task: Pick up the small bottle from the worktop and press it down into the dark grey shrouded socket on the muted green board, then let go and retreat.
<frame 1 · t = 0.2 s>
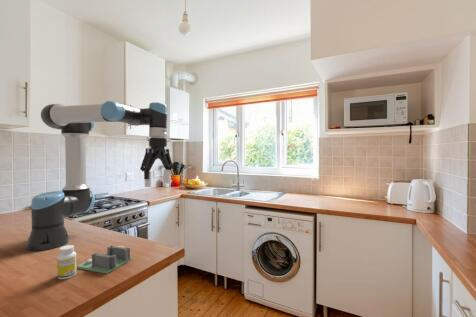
hand: (157, 185, 108), 28 cm above the worktop, fingers open, 13 cm apart
board: (105, 263, 91), on the worktop
supplement bottle: (67, 276, 82), on the worktop
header: (111, 264, 90), resting on board
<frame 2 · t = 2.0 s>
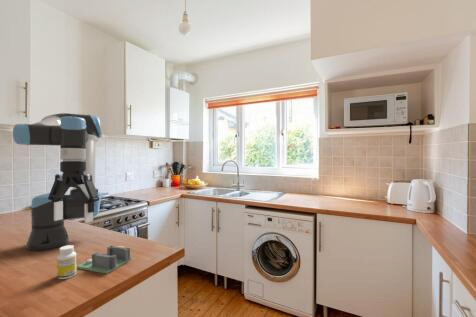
hand: (73, 221, 85), 18 cm above the worktop, fingers open, 13 cm apart
nothing on the worktop moved.
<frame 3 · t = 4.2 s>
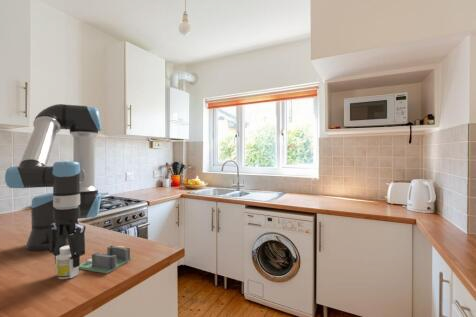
hand: (67, 274, 82), 0 cm above the worktop, fingers closed on supplement bottle, 5 cm apart
supplement bottle: (67, 276, 82), on the worktop, touching gripper
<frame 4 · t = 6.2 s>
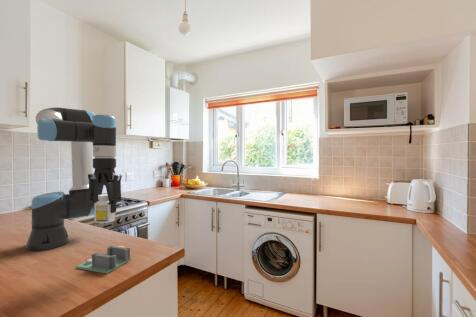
hand: (104, 220, 88), 17 cm above the worktop, fingers closed on supplement bottle, 5 cm apart
supplement bottle: (104, 222, 88), point 17 cm above the worktop, touching gripper
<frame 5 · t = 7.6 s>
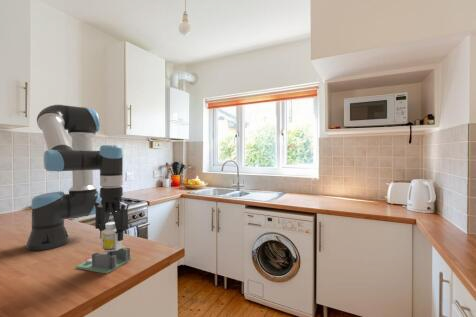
hand: (111, 248, 90), 6 cm above the worktop, fingers closed on supplement bottle, 5 cm apart
supplement bottle: (111, 249, 90), point 6 cm above the worktop, touching gripper
when the fingers open (3 cm above the worktop, at t = 8.5 s): supplement bottle drops 1 cm, resting on board.
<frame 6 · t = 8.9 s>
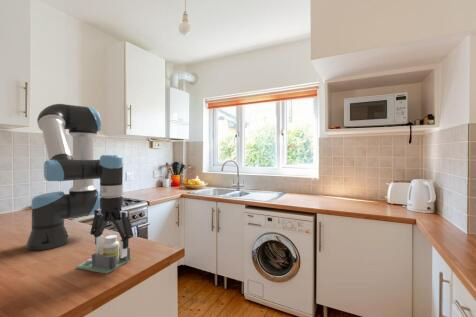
hand: (111, 255, 90), 4 cm above the worktop, fingers open, 10 cm apart
supplement bottle: (111, 262, 90), point 1 cm above the worktop, touching board
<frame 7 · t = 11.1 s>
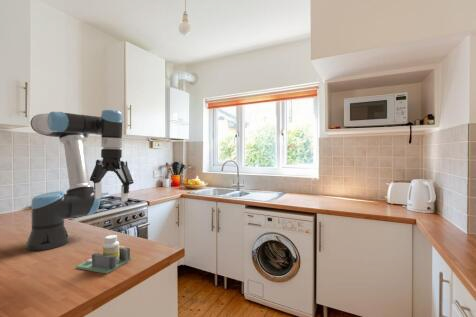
hand: (111, 199, 99), 23 cm above the worktop, fingers open, 13 cm apart
nothing on the worktop moved.
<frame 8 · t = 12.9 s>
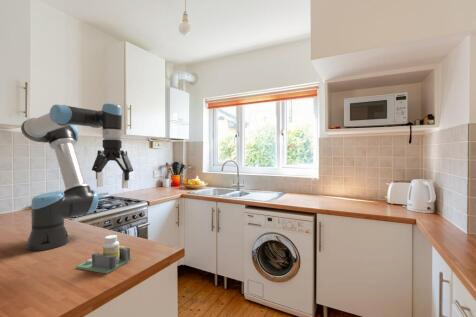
hand: (112, 187, 107), 27 cm above the worktop, fingers open, 13 cm apart
nothing on the worktop moved.
at the end: supplement bottle 0.1 cm off-centre on the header, point 0.6 cm above the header's base; supplement bottle tilted 0°; the gripper is holding nothing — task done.
